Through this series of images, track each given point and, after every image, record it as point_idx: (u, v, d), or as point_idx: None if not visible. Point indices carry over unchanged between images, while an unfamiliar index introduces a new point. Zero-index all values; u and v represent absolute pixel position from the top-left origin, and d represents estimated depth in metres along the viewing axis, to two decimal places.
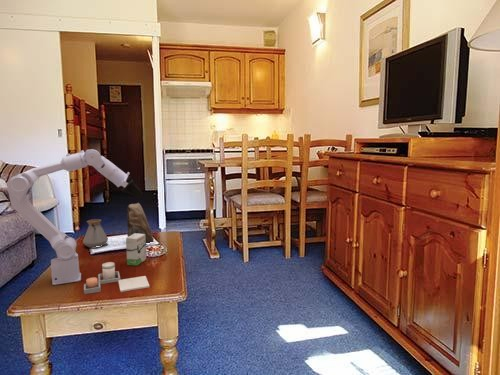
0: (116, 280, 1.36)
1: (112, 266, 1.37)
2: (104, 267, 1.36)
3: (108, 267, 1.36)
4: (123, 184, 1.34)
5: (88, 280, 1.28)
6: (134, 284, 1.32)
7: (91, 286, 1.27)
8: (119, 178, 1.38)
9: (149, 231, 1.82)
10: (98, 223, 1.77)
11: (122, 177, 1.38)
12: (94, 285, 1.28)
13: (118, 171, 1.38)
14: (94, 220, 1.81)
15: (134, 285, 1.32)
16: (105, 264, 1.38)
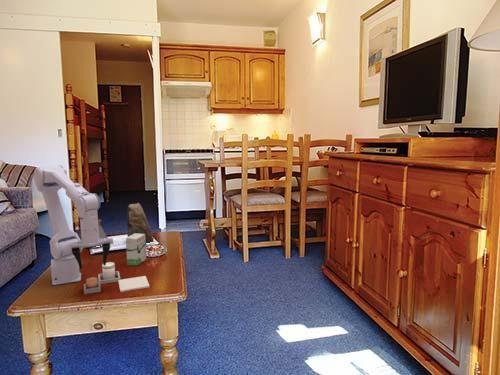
0: (116, 280, 1.36)
1: (112, 266, 1.37)
2: (104, 267, 1.36)
3: (108, 267, 1.36)
4: (67, 246, 1.24)
5: (88, 280, 1.28)
6: (134, 284, 1.32)
7: (91, 286, 1.27)
8: None
9: (149, 231, 1.82)
10: (98, 223, 1.77)
11: (82, 241, 1.24)
12: (94, 285, 1.28)
13: (84, 234, 1.24)
14: None
15: (134, 285, 1.32)
16: None
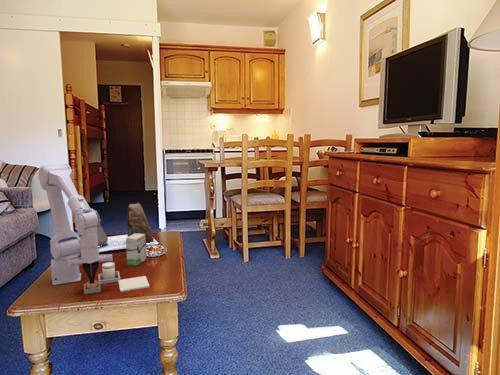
0: (116, 280, 1.36)
1: (112, 266, 1.37)
2: (104, 267, 1.36)
3: (108, 267, 1.36)
4: None
5: (88, 283, 1.28)
6: (134, 284, 1.32)
7: None
8: (81, 255, 1.26)
9: (149, 231, 1.82)
10: None
11: (82, 258, 1.25)
12: None
13: (83, 251, 1.24)
14: None
15: (134, 285, 1.32)
16: (105, 264, 1.38)
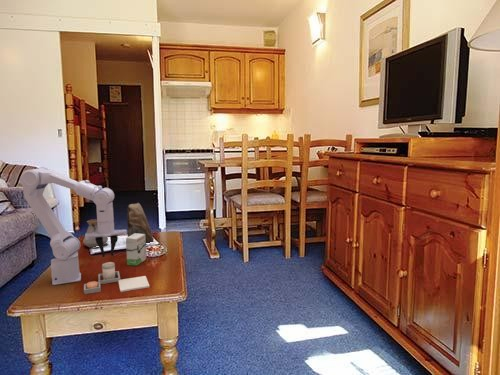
0: (116, 280, 1.36)
1: (112, 266, 1.37)
2: (104, 267, 1.36)
3: (108, 267, 1.36)
4: (85, 236, 1.33)
5: (88, 284, 1.28)
6: (134, 284, 1.32)
7: None
8: (98, 229, 1.35)
9: (149, 231, 1.82)
10: None
11: (98, 232, 1.34)
12: None
13: (100, 225, 1.33)
14: (94, 220, 1.81)
15: (134, 285, 1.32)
16: (105, 264, 1.38)
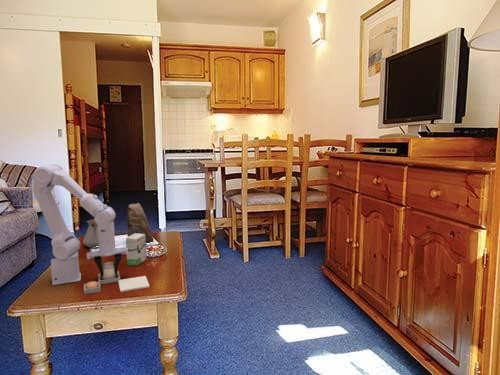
0: (116, 280, 1.36)
1: (112, 266, 1.37)
2: (104, 267, 1.36)
3: (108, 267, 1.36)
4: None
5: (88, 284, 1.28)
6: (134, 284, 1.32)
7: None
8: (99, 248, 1.36)
9: (149, 231, 1.82)
10: None
11: (100, 251, 1.35)
12: None
13: (101, 245, 1.34)
14: (94, 220, 1.81)
15: (134, 285, 1.32)
16: (105, 264, 1.38)
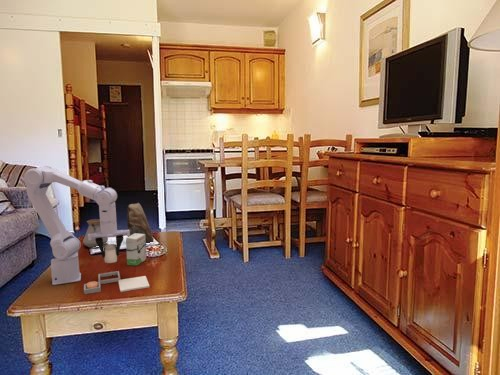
0: (116, 280, 1.36)
1: (114, 247, 1.35)
2: (106, 248, 1.34)
3: (110, 248, 1.34)
4: (88, 236, 1.33)
5: (88, 284, 1.28)
6: (134, 284, 1.32)
7: None
8: None
9: (149, 231, 1.82)
10: (98, 223, 1.77)
11: (101, 232, 1.33)
12: None
13: (102, 225, 1.32)
14: (94, 220, 1.81)
15: (134, 285, 1.32)
16: (107, 246, 1.36)
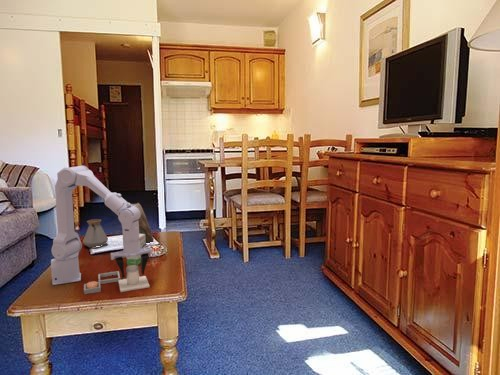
0: (116, 280, 1.36)
1: (137, 269, 1.32)
2: (129, 270, 1.31)
3: (133, 270, 1.31)
4: None
5: (88, 284, 1.28)
6: None
7: None
8: None
9: (149, 231, 1.82)
10: (98, 223, 1.77)
11: (124, 251, 1.30)
12: None
13: (126, 245, 1.29)
14: (94, 220, 1.81)
15: (134, 285, 1.32)
16: (129, 267, 1.33)
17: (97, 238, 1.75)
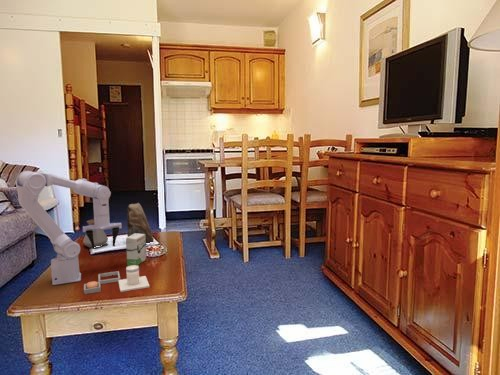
0: (116, 280, 1.36)
1: (137, 269, 1.32)
2: (129, 270, 1.31)
3: (133, 270, 1.31)
4: None
5: (88, 284, 1.28)
6: None
7: None
8: None
9: (149, 231, 1.82)
10: None
11: (95, 224, 1.44)
12: None
13: (96, 219, 1.43)
14: None
15: (134, 285, 1.32)
16: (129, 267, 1.33)
17: (97, 238, 1.75)
